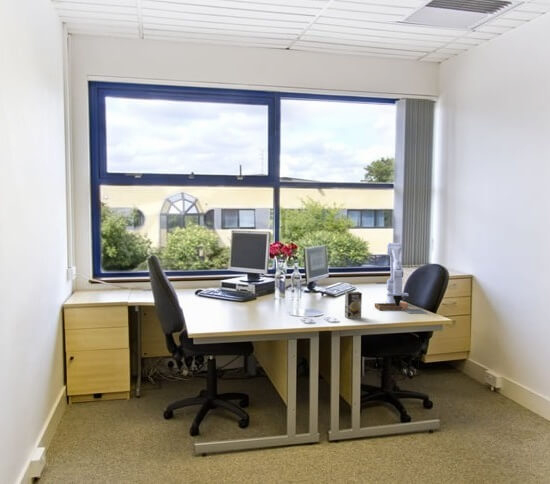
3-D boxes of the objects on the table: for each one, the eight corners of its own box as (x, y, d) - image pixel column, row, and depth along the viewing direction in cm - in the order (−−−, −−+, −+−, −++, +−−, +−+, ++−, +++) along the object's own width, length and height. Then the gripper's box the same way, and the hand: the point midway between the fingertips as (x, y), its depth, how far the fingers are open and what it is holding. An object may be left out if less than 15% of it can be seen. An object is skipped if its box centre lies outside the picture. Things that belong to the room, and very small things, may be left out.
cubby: (374, 306, 341) (374, 303, 341) (396, 306, 343) (396, 303, 343) (379, 310, 330) (379, 307, 329) (402, 310, 331) (402, 306, 331)
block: (398, 307, 339) (398, 302, 339) (405, 307, 340) (405, 301, 339) (400, 309, 334) (400, 303, 334) (407, 309, 335) (407, 303, 334)
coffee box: (347, 318, 306) (348, 293, 304) (344, 316, 312) (344, 291, 311) (361, 318, 307) (362, 292, 306) (357, 315, 314) (358, 291, 312)
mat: (403, 309, 333) (403, 309, 333) (420, 309, 334) (420, 308, 334) (409, 313, 321) (409, 312, 321) (427, 313, 322) (427, 312, 322)
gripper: (389, 288, 331) (388, 307, 332) (410, 287, 332) (409, 307, 333) (386, 286, 338) (385, 305, 339) (406, 286, 339) (405, 305, 340)
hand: (397, 306), depth 337 cm, fingers closed
